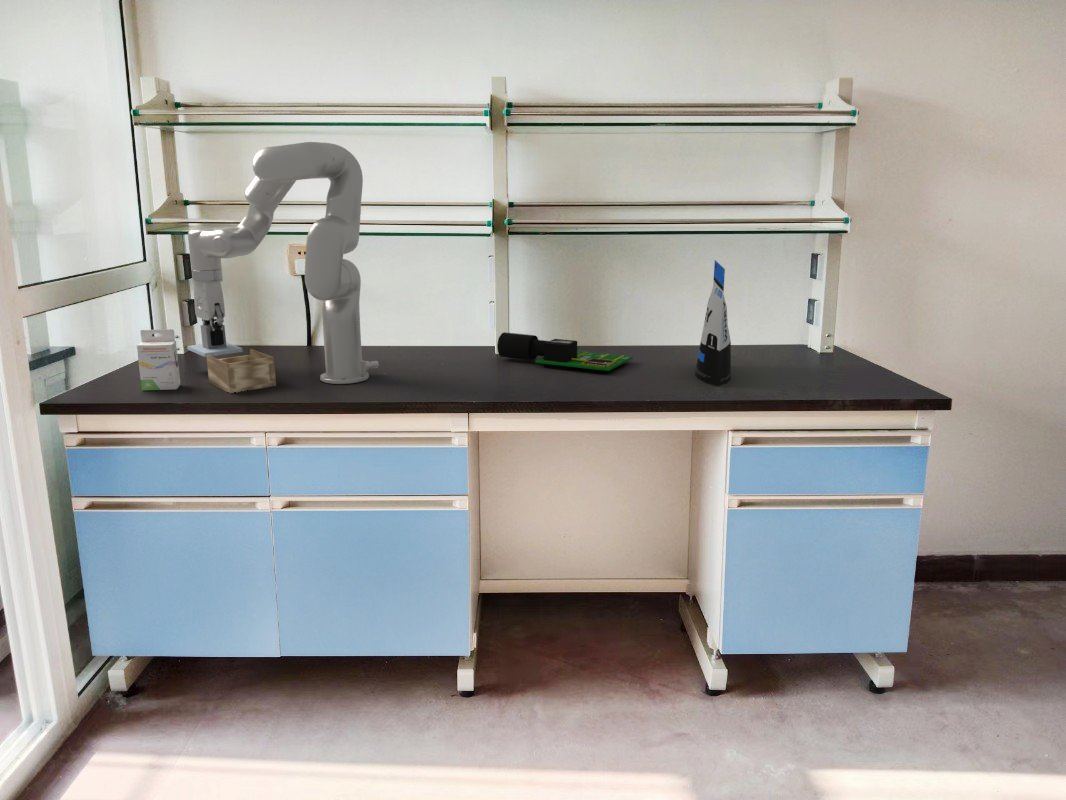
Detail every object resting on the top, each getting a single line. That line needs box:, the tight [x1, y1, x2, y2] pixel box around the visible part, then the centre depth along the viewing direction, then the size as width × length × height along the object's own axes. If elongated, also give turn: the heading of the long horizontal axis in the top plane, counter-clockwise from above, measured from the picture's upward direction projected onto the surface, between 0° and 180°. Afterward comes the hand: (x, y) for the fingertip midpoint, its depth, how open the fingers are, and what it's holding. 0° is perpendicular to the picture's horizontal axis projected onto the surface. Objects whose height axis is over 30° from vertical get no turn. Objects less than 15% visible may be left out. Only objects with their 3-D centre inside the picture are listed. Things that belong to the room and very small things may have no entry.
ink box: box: [136, 328, 181, 391], centre depth 209 cm, size 9×5×15 cm, turn 101°
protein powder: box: [694, 259, 732, 388], centre depth 220 cm, size 10×24×30 cm, turn 174°
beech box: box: [205, 348, 277, 394], centre depth 213 cm, size 12×14×8 cm
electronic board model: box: [496, 331, 634, 372], centre depth 238 cm, size 36×8×18 cm
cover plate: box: [186, 324, 244, 358], centre depth 224 cm, size 10×13×7 cm
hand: (214, 343), depth 225 cm, fingers closed on cover plate, 4 cm apart
